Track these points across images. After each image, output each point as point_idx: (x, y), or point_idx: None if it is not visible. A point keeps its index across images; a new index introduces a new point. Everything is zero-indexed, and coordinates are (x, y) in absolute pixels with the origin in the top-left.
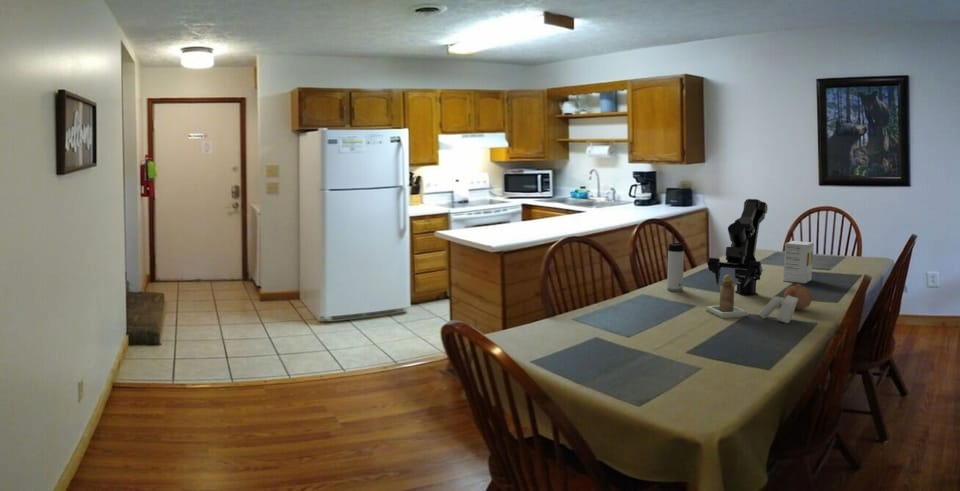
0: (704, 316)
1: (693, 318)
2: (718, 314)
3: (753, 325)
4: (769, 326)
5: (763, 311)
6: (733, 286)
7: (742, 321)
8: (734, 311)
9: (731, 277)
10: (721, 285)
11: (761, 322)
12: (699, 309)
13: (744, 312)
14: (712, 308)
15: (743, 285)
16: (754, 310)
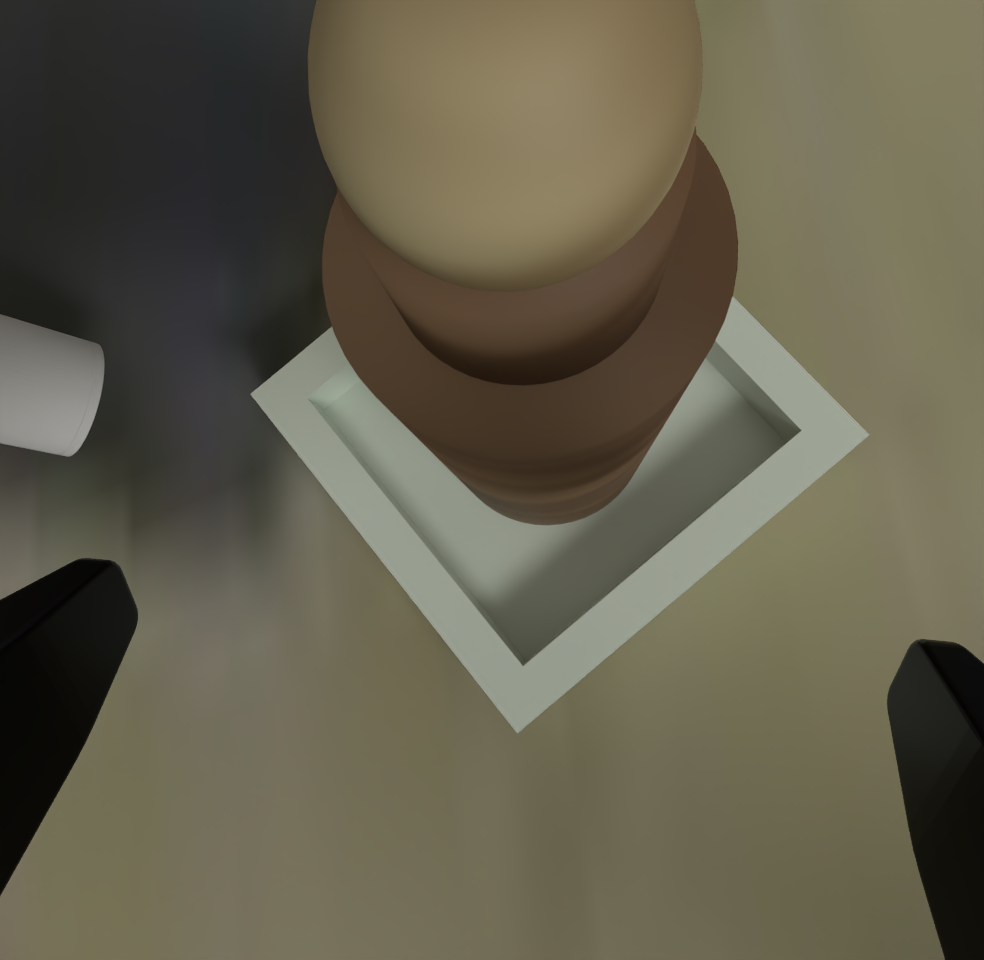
0: (795, 165)
1: (907, 10)
2: None
3: (188, 37)
4: (28, 75)
5: (13, 318)
6: (351, 297)
7: (313, 144)
8: None
9: (315, 18)
10: (711, 288)
11: (107, 198)
12: (963, 519)
13: (287, 371)
14: (749, 345)
15: (84, 558)
16: (196, 784)
